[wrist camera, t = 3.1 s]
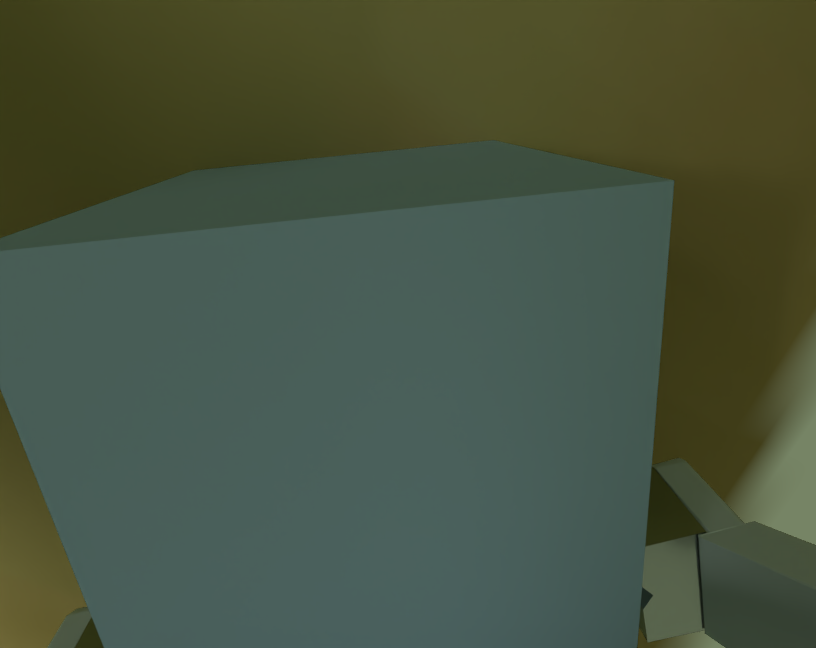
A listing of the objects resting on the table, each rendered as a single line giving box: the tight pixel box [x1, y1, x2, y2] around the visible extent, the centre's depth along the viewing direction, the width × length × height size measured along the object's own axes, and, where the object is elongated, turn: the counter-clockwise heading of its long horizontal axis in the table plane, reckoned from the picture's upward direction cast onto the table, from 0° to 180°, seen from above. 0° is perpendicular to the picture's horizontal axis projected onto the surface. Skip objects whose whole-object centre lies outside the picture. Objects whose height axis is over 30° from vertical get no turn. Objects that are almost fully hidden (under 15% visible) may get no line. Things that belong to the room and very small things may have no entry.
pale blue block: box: [0, 140, 674, 648], centre depth 9 cm, size 12×5×6 cm, turn 5°
